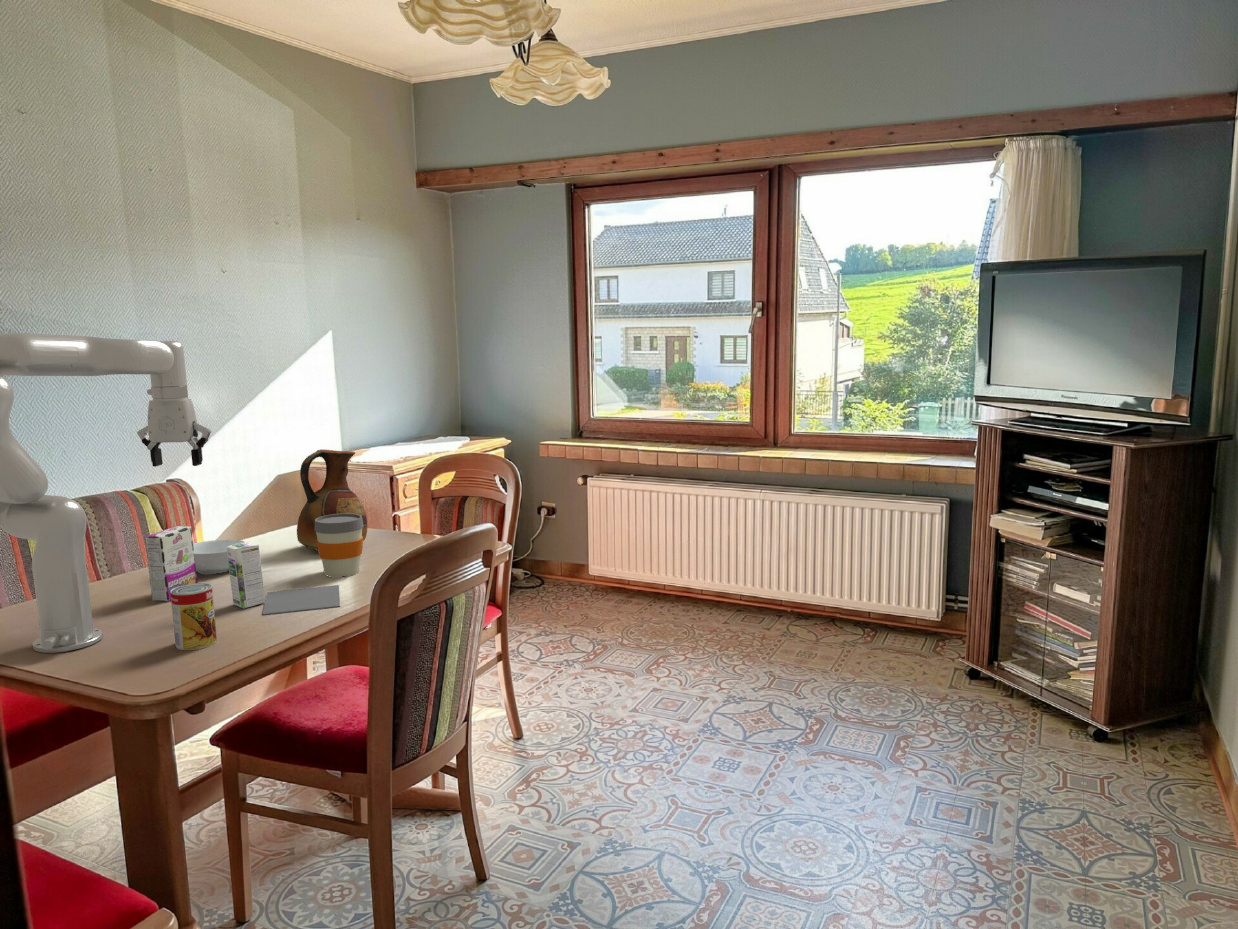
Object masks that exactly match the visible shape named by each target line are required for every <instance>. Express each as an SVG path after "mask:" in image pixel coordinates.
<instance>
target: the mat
mask: <svg viewBox="0 0 1238 929" xmlns="http://www.w3.org/2000/svg"><path fill="white" fill-rule="evenodd" d="M265 601H266V602H264V606H263V610H262V616H269V615H276V614H278V615H279V614H285V613H288V614H289V613H296V612H306V611H312V610H313V611H315V610H322V609H321V608H325V609H333V608H340V607H341V604H340V585H339V584H336V585H333V584H332V585H326V586H325V585H324V586H316V587H305V588H295V589H293V588H292V589H285V590H284V589H283V590H275V591H267V593H266V596H265Z"/></svg>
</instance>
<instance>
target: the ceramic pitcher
mask: <svg viewBox="0 0 1238 929" xmlns="http://www.w3.org/2000/svg"><path fill="white" fill-rule="evenodd" d="M355 454H356V452H355V451H351V450H349V451H347V450H346V451H345V450H333V449H321V448H320V449H317V450H316V451H315V452H313V453H311V454H309V455H308V456H306V458H305V459H304V460H303V461H302V463H301V466H300V472H299V474H300V481H301V485H302V488H303V489H304V493H305V496H306V502H305V504H304V506H303V507H302V508H301V510H300V513H299V515H298V520H297V524H296V536H297V537H296V538H297V541H298V543H299V544H301V546H303V547H304V548H306V549H310V550H314V551H318V547H317V542H316V541H317V534H316V532H315V519H316V518H318V517H322V516H326V515H332V514H346V513H347V514H358V515H361V516H362V520H363V526H364V527H363V528H362V536H363V542H364V541H365V539H366V538H367V534H368V517H367V514H366V513H367V512H366V509H365V506H364V504H363V502H362V501H361V499H360V498H359V497H358V496H357V494H356V493H355V492H353V490H351V489H350V488H349V484H348V480H347V477H348V474H349V462H350V460H351V459H352V457H354V456H355ZM317 458H322V459H323V460H324V464H325V480H324V483H323V485H322V486H321V488H320V489H318V490H316V491H315V492H314V490H313V488H312V487H311V484H310V479H309V474H310V473H309V471H310V467H311V465H312V462H313V461H314V460H316V459H317Z"/></svg>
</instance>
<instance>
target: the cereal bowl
mask: <svg viewBox="0 0 1238 929" xmlns="http://www.w3.org/2000/svg"><path fill="white" fill-rule="evenodd" d="M244 542H245V541H244V540H240V539H213V540H206V541H205V540H204V541H199V542H193V548H194V558H195V566H196V572H197V573H199V574H201V575H217V574H216V573H219V574H223V572H224V573H227V572H229V564H228V555H227V546H230V545H233V544H237V543H244ZM226 571H227V572H226Z"/></svg>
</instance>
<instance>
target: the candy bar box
mask: <svg viewBox="0 0 1238 929" xmlns="http://www.w3.org/2000/svg"><path fill="white" fill-rule="evenodd" d="M193 539H194V538H193V532H192V526H187V525H181V526H180V525H175V526H172V527H169V528H166V529H163V530H161V531H158V532H155V533H152V534H150V535H146V536H144V541H145V542H144V543H145V548H146V558H147V565H148V567H147V568H148V574H149V585H150V591H151V592H150V593H151V599H152V601H154V602H171V601H170V600H171V594H170V591H171V590H172V589H173V588H176V587H178V586H182V585H187V584H194V583H198V578H197V577H198V576H197V571H196V566H195V558H194V548H193V543H194V541H193Z"/></svg>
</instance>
